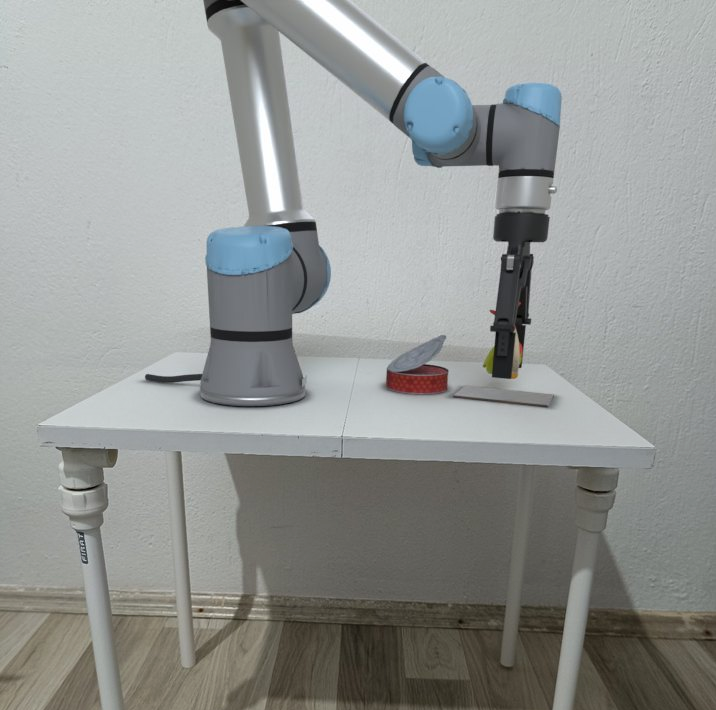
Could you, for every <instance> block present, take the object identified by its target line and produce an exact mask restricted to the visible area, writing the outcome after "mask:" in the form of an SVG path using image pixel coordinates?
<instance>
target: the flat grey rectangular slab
mask: <svg viewBox="0 0 716 710" xmlns="http://www.w3.org/2000/svg"><path fill="white" fill-rule="evenodd" d="M452 397H453V398H456V399H466V400H477V401H485V402H495V403H503V404H504V403H505V404H512V405H513V404H514V405H522V406H523V405H524V406H533V407H541V408H542V407H543V408H549V406H550V404H551V402H552V400H553V399H554V397H555V394H553V393H552V394H551V393H543V392H534V391H533V392H532V391H522V390H512V389H511V390H510V389H503V388H492V387H482V386H481V387H480V386H472V385H464V386H463V387H462V388H461V389H459V390H458V391H457V392H456V393H454V394H452Z"/></svg>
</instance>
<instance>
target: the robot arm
mask: <svg viewBox="0 0 716 710" xmlns="http://www.w3.org/2000/svg"><path fill="white" fill-rule="evenodd" d="M202 1H203V7H204V13H205V19H206V24H207V28H208V31H209V32H211V33H212V34H213V36H215V37H216V38H217V39H219V42H220V44H221V51H222V57H223V61H224V62H223V63H224V64H223V65H224V71H225V75H226V81H227V87H228V93H229V100H230V106H231V107H230V108H231V112H232V118H233V119H232V120H233V125H234V131H235V136H236V142H237V143H236V144H237V148H238V156H239V162H240V167H241V168H240V169H241V174H242V180H243V187H244V192H245V193H244V194H245V198H246V205H247V211H248V219H247V220H246V221H245V223H244V225H243V226H237V227H235V226H231V227H223V228H219V229H216V230H213V231H211V232H210V233H209V235H207V239H206V254H205V257H204V258H205V259H204V260H205V261H204V262H205V266H206V279H207V280H206V281H207V298H208V313H209V332H210V333H209V334H210V343H209V347H208V348H209V349H208V351H207V356H206V358H205V359H206V360H205V363H204V366H203V370H202V373H195V374H194V373H192V374H180V375H167V376H166V375H165V376H164V375H157V374H150V373H146V374H145V375H144V379H145V381H150V382H156V383H165V384H172V383H181V382H194V381H196V382H197V381H200V385H199V392H200V393H199V394H200V397H201V399H203V400H205V401H207V402H210V403H212V404H213V403H214V404H218V405H225V406H233V407H267V406H269V407H270V406H278V405H285V404H290V403H293V402H297V401H299V400H301V399H303V398H304V397H305V396H306V384H307V383H308V382H307V381H308V379H307V378H308V377H307V376H308V375H303V372H302V369H301V366H300V362H299V359H298V356H297V353H296V351H295V347H294V341H293V315H294V314H295V315H296V314H301V313H304V312H306V311H308V310H309V309H311V308H313V307H315V306H316V305H317V304H318V303H319V302H320V301H321V300H322V299H323V298H324V296H325V295H326V294H327V291H328V289H329V287H330V283H331V278H332V269H331V263H330V259H329V256H328V255H327V253H326V252H325V250H324V249H323V247H322V246H321V245H320V243H319V242H320V241H319V235H318V228H317V222H316V219H315V218H314V217H313V216H311V214H309V213H308V212H307V211H306V210H305V204H304V198H303V190H302V184H301V183H302V182H301V176H300V168H299V162H298V154H297V145H296V140H295V133H294V125H293V118H292V111H291V104H290V95H289V89H288V82H287V73H286V67H285V60H284V52H283V46H282V39H281V38H282V37H281V35H282V36H284V37H285V38H286V39H288V40H289V41H290V42H291V43H293V45H295V46H296V47H298V48H299V49H300V50H301V51H302V52H304V53H305V54H306V55H307V56H309V57H310V58H311V59H312V60H313V61H315V62H316V63H317V64H318V65H320V66H321V67H322V68H323V69H324V70H326V71H327V72H328V73H329V74H330V75H332V76H333V77H335V79H337V80H338V81H339V82H341V83H342V84H343V85H344V86H346V87H347V88H348V89H349V90H351V92H352V93H354V94H356V95H357V96H358V97H359V98H360V99H361V100H363V101H364V102H365V103H367V104H368V105H369V106H370V107H371V108H373V109H374V110H375V111H376V112H377V113H379V114H380V115H381V116H382V117H384V119H386V120H388V121H389V122H390V123H391V124H393V126H394V127H395V128H397V129H398V130H399V131H400V132H401V133H403V134H404V135H405V136H407V137H408V138H409V139H410V140H411V149H412V150H411V151H412V152H411V153H412V155H413V159H414V162H415V163H416V164H417V165H418V166H421V167H432V168H433V167H434V168H437V169H441V168H444V167H445V168H446V167H479V166H480V167H481V166H487V167H493V166H498V175H497V182H496V193H495V203H494V204H495V205H494V207H495V209H496V210H498V213H496V215H495V216H494V222H493V223H494V224H493V232H492V233H493V235H492V238H493V240H494V242H497V243H499V242H500V243H507V248H506V253H502V254H501V257H500V272H499V280H498V281H499V282H498V288H497V296H496V304H495V305H496V306H495V310H494V311H495V315H494V320H493V323H492V325H490V327H489V331H490V332H492V333H493V332H494V333H495V334H494V345H493V347H494V357H493V368H492V374H491V378H493V379H504V380H512V379H511V376H512V366H513V356H514V346H515V335H516V332H514V330H515V326H516V331H517V334H518V340H519V342H520V344H521V345H522V356H521V357H522V361H521V364H520V365H519V369H521V368H522V366H523V358H524V357H523V356H524V349H525V347H524V346H525V340H526V339H525V338H526V328H527V325H529V326H530V325H531V324H532V318H530V312H529V311H530V297H531V285H532V284H531V283H532V270H533V267H534V262H535V261H534V259H535V257H534V253H531V243H545V242H547V240H548V237H549V236H548V235H549V227H550V218H551V217H550V216H549V214H546V211H549V210H550V209H551V204H552V196H551V194H553V195H554V194H557V192H558V188H557V185H553V184H554V178H555V170H556V163H557V155H558V154H557V153H558V145H559V138H560V129H561V128H560V127H561V114H562V113H561V112H562V99H563V95H562V92H561V90H560V89H559V88H558V87H557V86H556V85H553V84H551V83H546V82H526V83H517V84H514V85H511V86H510V87H508V88H507V89H506V91H505V93H504V98H503V100H502V103H497V104H472V101H471V99H470V97H469V94H468V92H467V91H466V90H465V89H464V88H463V87H462V86H461V85H460V84H459V83H458V82H456V81H455V80H453V79H452V78H448V77H445V76H444V75H443V74H442V73H440V72H439V71H438V70H437V69H435V68H434V67H432V66H431V65H430V64H428V62H427V61H426V60H424V59H423V58H422V57H420V55H418V53H416V52H414V51H413V50H412V49H411V48H409V47H408V46H407V45H406V44H405V43H403V42H402V41H401V40H400V39H399V38H397V37H396V36H395V35H394V34H392V33H391V32H390V31H389V30H387V29H386V28H385V27H384V26H383V25H381V24H380V23H379V22H378V21H377V20H375V19H374V18H373V17H372V16H371V15H369V14H368V13H367V12H366V11H364V10H363V9H362V8H360V7H359V6H358V5H357V4H356V3H355V2H353V1H352V0H202ZM519 302H520V303H521V304H520V305H519V307H518V304H519Z"/></svg>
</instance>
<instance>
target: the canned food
mask: <svg viewBox="0 0 716 710" xmlns="http://www.w3.org/2000/svg"><path fill="white" fill-rule="evenodd" d="M446 340H447V335H446V334H440V335H439V336H437V337H434V338H432V339H430V340H428V341H425V342H423V343H421V344H419V345H417V346H415V347H414V348H411V349H410V350H407V351H406V352H404V353H401V354H400V355H399V356H398V357H396V358H395V359H393V360H392V361H391V362H390V363H389V364H387V367H386V379H385V387H386V389H388V390H389V391H392V392H396V393H401V394H408V395H436V394H440V393H441V394H442V393H445V392H446V391H448V383H449V382H448V381H449V372H450V371H449V369H448V368H447V367H444V366H440V365H435V364H428V362H431V361H432V360H433V359H434V358H436V357H437V355H438V354H439V353H440V351H441V350H442V348H443V346H444V343H445V341H446Z"/></svg>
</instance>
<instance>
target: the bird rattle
mask: <svg viewBox="0 0 716 710" xmlns="http://www.w3.org/2000/svg"><path fill="white" fill-rule="evenodd" d="M520 304H521V303H520V302H519V304H518V307H519V305H520ZM495 311H496V310H494V309H489V313H490V314H492V315H493V316H495ZM514 332H516V335H515V346H514V356H513V366H512V376H511V379H510V380H515V379H517V378H518V376H519V369H520V368H519V365H520V364H521V361H522V362H523V359H522V357H521V356H522V345H521V344H520V342H519V340H518V334H517V331H516V326H515V330H514ZM493 357H494V346H493V347H492V348H491V350H489V352H488V354H487V356H486V358H485V360H484V362H483V363H482V368H485V369H486V373H488V374H490V375H492V368H493Z"/></svg>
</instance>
